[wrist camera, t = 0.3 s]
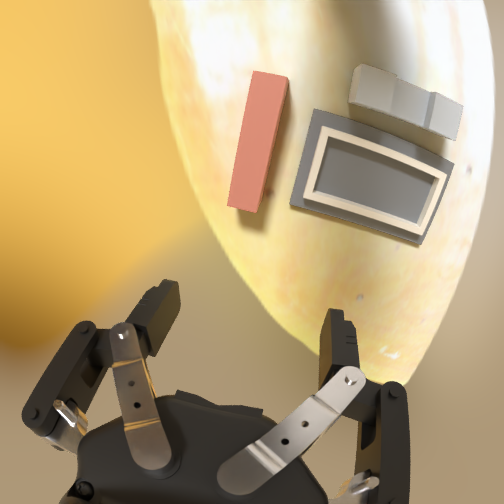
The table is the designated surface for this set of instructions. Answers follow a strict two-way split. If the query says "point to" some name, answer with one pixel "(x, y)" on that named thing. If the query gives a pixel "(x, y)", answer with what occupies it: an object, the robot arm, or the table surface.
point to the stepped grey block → (404, 101)
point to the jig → (369, 177)
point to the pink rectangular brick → (257, 140)
